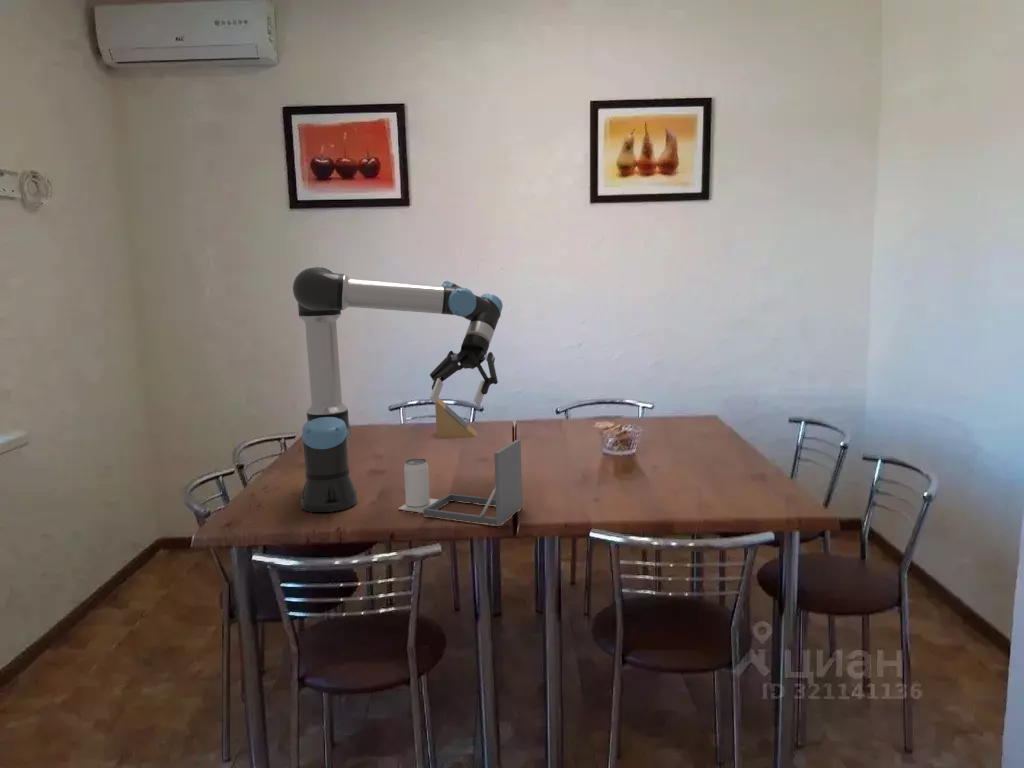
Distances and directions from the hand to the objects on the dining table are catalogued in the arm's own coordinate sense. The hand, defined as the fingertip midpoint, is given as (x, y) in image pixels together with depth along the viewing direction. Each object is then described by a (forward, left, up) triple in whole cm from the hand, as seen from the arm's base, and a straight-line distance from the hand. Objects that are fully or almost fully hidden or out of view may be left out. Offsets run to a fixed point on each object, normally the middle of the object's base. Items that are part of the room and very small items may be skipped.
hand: (454, 401), depth 193 cm
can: (-8, -9, -27) cm, 30 cm away
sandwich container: (-36, +67, -28) cm, 81 cm away
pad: (-7, -9, -28) cm, 30 cm away
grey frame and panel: (+9, -9, -28) cm, 30 cm away
